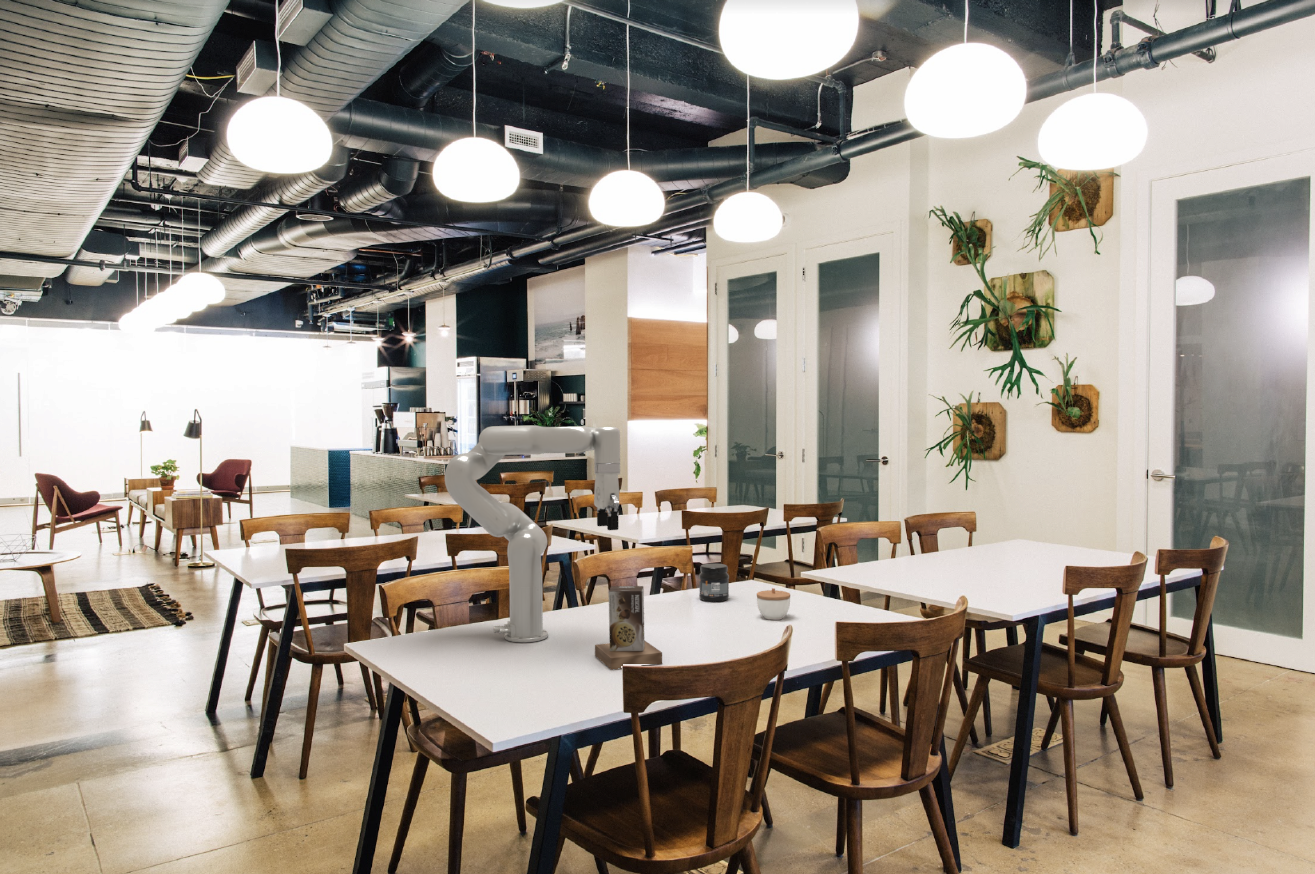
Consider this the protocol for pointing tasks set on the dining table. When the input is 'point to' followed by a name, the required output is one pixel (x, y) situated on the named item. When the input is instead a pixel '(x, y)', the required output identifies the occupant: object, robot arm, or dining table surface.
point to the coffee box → (626, 618)
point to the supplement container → (714, 583)
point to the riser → (627, 656)
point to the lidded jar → (773, 603)
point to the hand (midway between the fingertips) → (607, 527)
